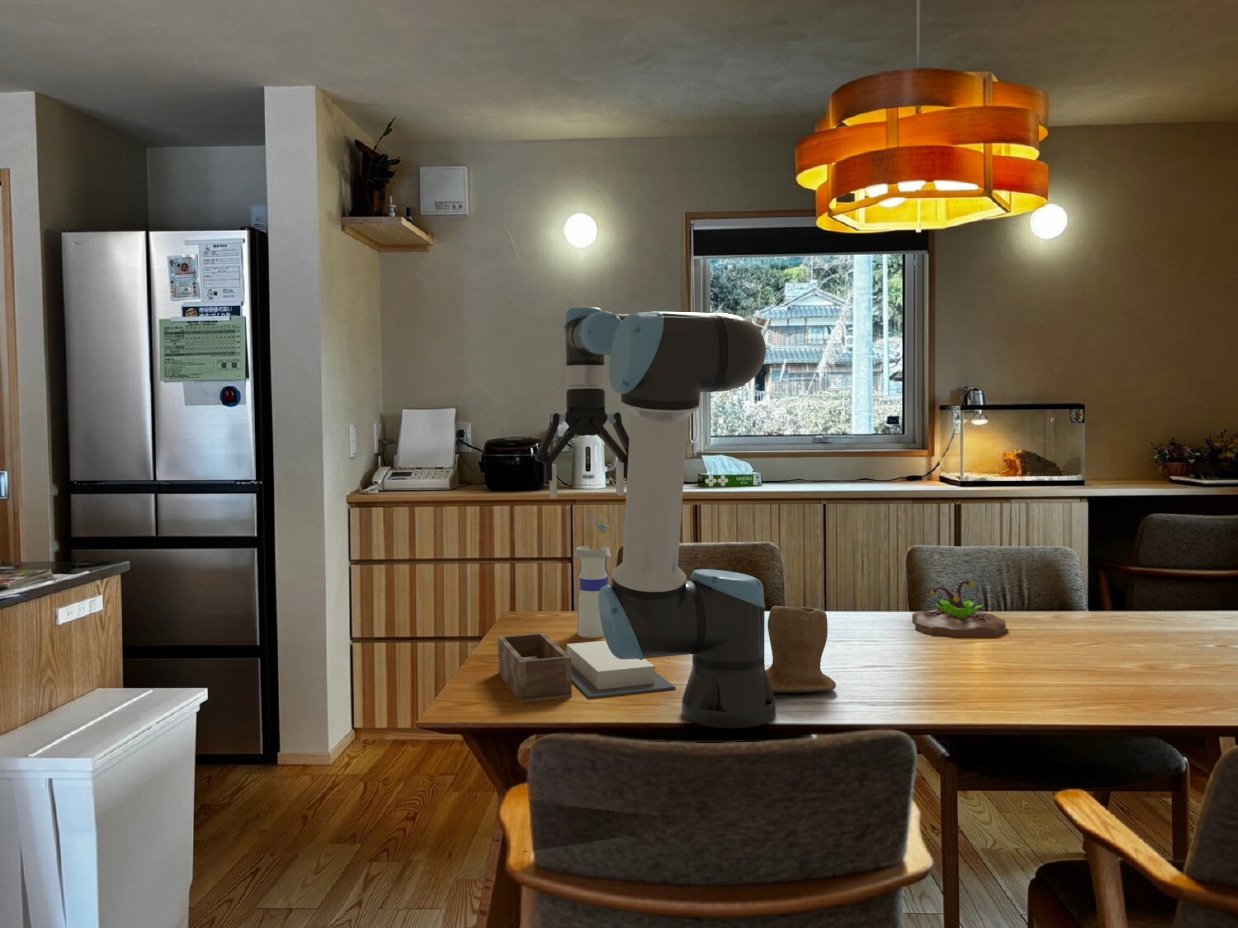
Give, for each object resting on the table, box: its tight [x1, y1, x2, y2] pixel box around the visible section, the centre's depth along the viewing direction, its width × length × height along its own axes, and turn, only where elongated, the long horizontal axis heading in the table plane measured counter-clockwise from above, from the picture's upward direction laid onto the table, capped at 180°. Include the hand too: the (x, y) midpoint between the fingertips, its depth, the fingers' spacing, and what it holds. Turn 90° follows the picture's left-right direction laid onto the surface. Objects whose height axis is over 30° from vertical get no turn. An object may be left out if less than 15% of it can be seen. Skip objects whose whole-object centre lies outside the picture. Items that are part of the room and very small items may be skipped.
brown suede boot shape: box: [765, 605, 837, 694], centre depth 168 cm, size 15×12×15 cm
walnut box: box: [497, 632, 573, 704], centre depth 173 cm, size 20×9×7 cm, turn 18°
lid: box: [566, 640, 656, 690], centre depth 180 cm, size 22×11×3 cm, turn 18°
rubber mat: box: [571, 664, 676, 700], centre depth 180 cm, size 28×16×1 cm, turn 18°
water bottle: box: [572, 520, 612, 639], centre depth 213 cm, size 8×9×25 cm
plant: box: [911, 579, 1007, 639], centre depth 214 cm, size 20×20×11 cm
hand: (587, 496), depth 187 cm, fingers open, 13 cm apart
